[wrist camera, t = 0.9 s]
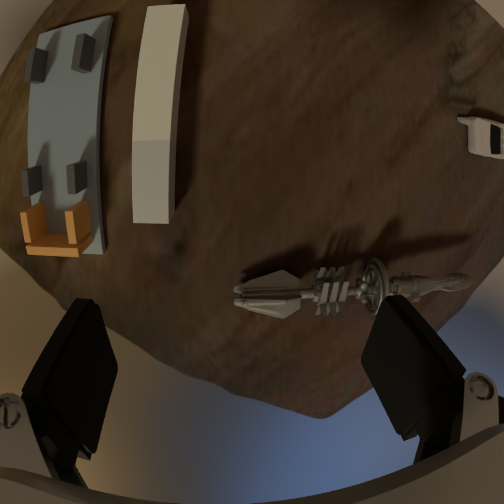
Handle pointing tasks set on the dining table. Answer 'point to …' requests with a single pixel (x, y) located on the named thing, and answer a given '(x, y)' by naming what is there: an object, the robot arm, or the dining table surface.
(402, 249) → the dining table surface
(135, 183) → the long cream stick
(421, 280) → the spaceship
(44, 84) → the clip rail
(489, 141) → the mobile phone
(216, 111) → the dining table surface
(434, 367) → the robot arm
